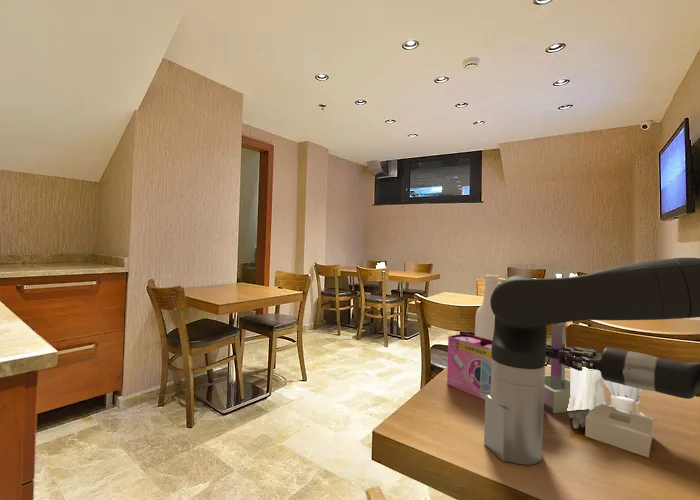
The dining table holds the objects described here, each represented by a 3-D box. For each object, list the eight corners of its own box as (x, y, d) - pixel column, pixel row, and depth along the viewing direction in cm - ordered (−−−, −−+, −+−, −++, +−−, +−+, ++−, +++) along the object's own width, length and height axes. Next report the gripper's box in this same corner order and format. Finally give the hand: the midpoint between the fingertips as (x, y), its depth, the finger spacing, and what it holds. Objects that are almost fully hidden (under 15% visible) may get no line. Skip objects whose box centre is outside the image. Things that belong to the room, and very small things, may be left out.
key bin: (553, 413, 82) (554, 392, 82) (524, 394, 92) (525, 375, 92) (589, 410, 84) (590, 389, 84) (557, 392, 94) (558, 374, 94)
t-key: (558, 395, 85) (559, 321, 85) (547, 392, 87) (549, 320, 87) (567, 389, 89) (568, 318, 89) (556, 386, 91) (557, 317, 90)
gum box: (548, 411, 83) (550, 354, 83) (531, 421, 78) (534, 360, 78) (463, 378, 102) (464, 332, 102) (445, 384, 98) (447, 336, 98)
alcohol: (483, 365, 114) (486, 273, 113) (510, 373, 107) (513, 275, 106) (468, 371, 108) (471, 274, 108) (495, 380, 102) (498, 277, 101)
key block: (648, 457, 65) (649, 436, 65) (585, 436, 72) (585, 417, 72) (652, 437, 73) (653, 418, 73) (594, 419, 80) (595, 402, 80)
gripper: (637, 345, 81) (555, 331, 94) (622, 357, 72) (534, 339, 85) (636, 378, 81) (555, 359, 95) (621, 394, 72) (533, 370, 85)
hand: (545, 350), depth 90 cm, fingers closed on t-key, 2 cm apart
